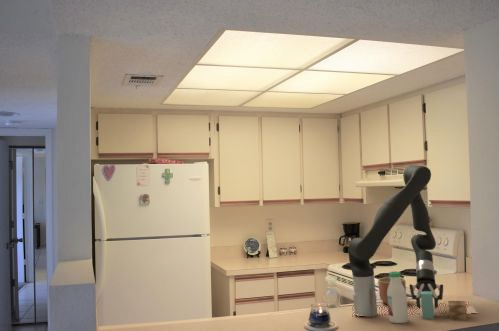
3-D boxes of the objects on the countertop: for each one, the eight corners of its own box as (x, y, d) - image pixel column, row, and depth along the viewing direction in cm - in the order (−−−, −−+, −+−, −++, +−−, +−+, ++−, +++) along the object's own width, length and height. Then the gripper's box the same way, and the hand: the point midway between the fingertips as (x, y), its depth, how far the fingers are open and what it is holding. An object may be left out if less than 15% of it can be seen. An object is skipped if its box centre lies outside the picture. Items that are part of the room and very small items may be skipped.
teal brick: (422, 318, 203) (420, 294, 204) (422, 315, 208) (420, 291, 208) (434, 318, 202) (432, 294, 202) (434, 315, 206) (432, 291, 206)
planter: (410, 305, 223) (408, 281, 224) (383, 307, 224) (381, 283, 224) (402, 298, 236) (401, 276, 236) (377, 300, 236) (375, 277, 236)
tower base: (450, 319, 199) (448, 304, 199) (449, 315, 205) (448, 300, 205) (467, 320, 197) (466, 305, 197) (466, 315, 203) (465, 301, 203)
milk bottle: (410, 319, 203) (406, 270, 204) (406, 324, 197) (401, 274, 197) (391, 317, 207) (387, 270, 208) (386, 323, 201) (382, 273, 201)
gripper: (407, 268, 215) (408, 302, 203) (442, 267, 210) (445, 303, 198) (408, 277, 220) (410, 312, 208) (443, 277, 215) (446, 312, 203)
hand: (427, 307), depth 203 cm, fingers open, 5 cm apart
